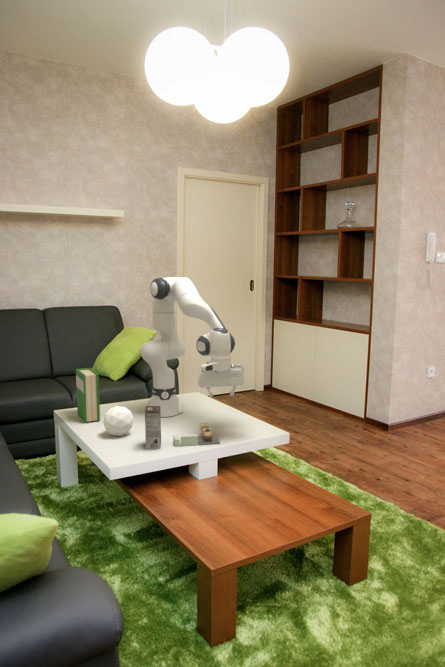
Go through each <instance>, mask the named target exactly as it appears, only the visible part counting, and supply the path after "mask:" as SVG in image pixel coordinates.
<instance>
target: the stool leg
mask: <svg viewBox="0 0 445 667" xmlns="http://www.w3.org/2000/svg"><path fill="white" fill-rule="evenodd" d="M199 424H200V426H199V427H200V432H201V436H203V437H204V439H206V440H210V439H212V435H213V431H212V430H211V428H210V426H209V425H208V423H205V422H204V423H199Z"/></svg>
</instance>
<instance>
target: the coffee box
mask: <svg viewBox="0 0 445 667" xmlns="http://www.w3.org/2000/svg"><path fill="white" fill-rule="evenodd" d="M161 420H162V417H161V409H160V406H149V405H145V410H144V424H145V425H144V426H145V428H144V429H145V430H144V431H145V450H158V449H161V448H162V447H161V446H162V421H161Z"/></svg>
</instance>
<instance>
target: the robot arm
mask: <svg viewBox="0 0 445 667" xmlns="http://www.w3.org/2000/svg"><path fill="white" fill-rule="evenodd" d="M149 286H150V287H149V291H150V294H151V296H152V297H153V300H152V307H151V308H152V314H151V315H152V328H153V329H154V330H155V331H157V332H158V333H159V336H160V338H159V339H151V340H148V341H146V342H144V343H143V344H141V346H140V350H139V351H140V356H141V358H142V359H143V361H145V362H146V363H147V364H148V365H149V367H150V369H151V373H152V389H151V392H152V396H151V397H150V398H149V399H148V404H149V405H148V406H160V409H161V418H168V417H174V416H177V415H179V414H183V410H182V409H181V408H180V398H179V396H178V395H177V393H176V392H177V388H176V384H175V382H176V379H175V378H176V377H175V371H174V370H173V369H172V368H171V367H169V366H168V363H167V361H169V360H175V359H178V358H181V357H182V356H184V354H185V353H186V350H187V349H186V344H185V342H184V340H183V339H181V337H180V336H179V335H178V333H177V330H176V325H175V321H176V320H175V302H176V303H177V306H178V308H179V309H180V311H181V312H182V313H183V315H185V316H187V317H189V318H193V319H198V320H201V321H203V322H205V323H206V324H208V326H209V328H211V329H210V330H211V331H209V332H208V333H206V334H202V335H200V336H198V338H197V339H196V340H197V341H196V350H197V352H198V353H199V355H200V356H204V357H210V361H207V362H205V363H202V364H200V371H199V374H198V380H197V383H198V385H197V386H199V387H200V388H202V389H203V388H206V391H207V392H208V397H209V398H213V397H214V392H212V391H211V388H219V387H232V390H230V391H229V395H230V397H233V396H235V392H236V390H237V386H238V387H239V386H243V385H244V384H245V377H244V373H245V366H243V365H242V364H240V363H239V364H232V355H231V354H232V352H233V351H234V349H235V346H236V341H235V338H234V336H233V334H232V333H231V332H230V331H229V330H228V329H227V328H226V327H225V325H224V324H223V322H222V321H221V319H220V317H219V316H218V314H217V313H216V311H215V310H214V309H213V307H211V306H210V305H209V304H207V303H206V302H205V300H204V299H203V298H202V297H201V295H200V293H199V291H198V289H197V287H196V286H195V284H194V283H193V281H192V279H191V278H189V277H186V276H185V277H184V276H182V277H181V276H168V277H157V278H154V279H153V280H151V283H150V285H149Z"/></svg>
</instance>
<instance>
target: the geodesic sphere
mask: <svg viewBox="0 0 445 667" xmlns="http://www.w3.org/2000/svg"><path fill="white" fill-rule="evenodd" d="M134 421H135V420H134V416H133V413H132V411H131V410H130V409H128V408H127V407H125V406H122V405H120V404H117V405H116V406H112V407H111V408H108V410H107V411H106V413H105V414H104V416H103V422H102V423H103V426H104V429H105V432H107V433H109V434H110V435H111V436H116V437H117V436H118V437H121V436H125V435H127V434H129V432H130V431H131V429H132V428H133V425H134Z"/></svg>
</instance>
